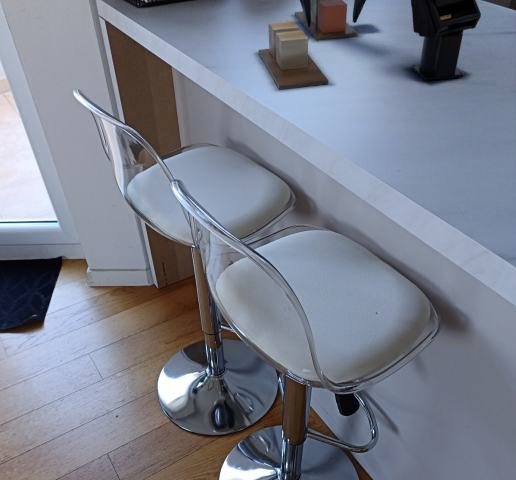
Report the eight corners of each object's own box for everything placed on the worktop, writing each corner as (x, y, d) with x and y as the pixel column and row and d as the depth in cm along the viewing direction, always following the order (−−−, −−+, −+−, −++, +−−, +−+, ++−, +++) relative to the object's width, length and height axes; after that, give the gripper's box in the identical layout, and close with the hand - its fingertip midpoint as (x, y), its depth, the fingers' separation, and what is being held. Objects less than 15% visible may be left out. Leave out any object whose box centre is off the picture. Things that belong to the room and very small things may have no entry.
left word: (328, 84, 85) (329, 49, 82) (279, 89, 85) (278, 54, 81) (301, 48, 99) (301, 17, 95) (258, 53, 98) (257, 21, 94)
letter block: (345, 31, 103) (347, 4, 100) (323, 33, 103) (324, 6, 100) (339, 25, 106) (340, -2, 103) (317, 27, 106) (318, 0, 103)
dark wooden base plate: (357, 36, 103) (359, 5, 99) (316, 40, 102) (317, 9, 98) (330, 11, 116) (331, -17, 112) (294, 15, 115) (294, -13, 112)
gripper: (372, -86, 100) (364, 10, 111) (274, -79, 98) (276, 18, 109) (393, -79, 92) (382, 24, 103) (287, -70, 90) (288, 33, 101)
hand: (331, 24), depth 104 cm, fingers open, 9 cm apart
